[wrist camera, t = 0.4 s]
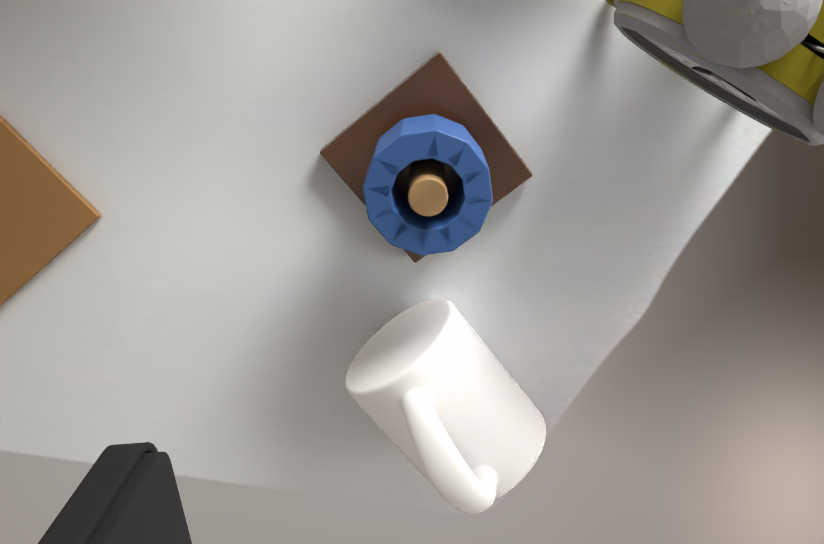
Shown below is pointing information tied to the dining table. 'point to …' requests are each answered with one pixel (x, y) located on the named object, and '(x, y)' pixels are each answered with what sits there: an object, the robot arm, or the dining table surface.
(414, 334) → the mug
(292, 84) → the dining table surface
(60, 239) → the mat
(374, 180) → the blue hollow cylinder
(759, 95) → the alarm clock
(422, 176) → the dowel stand
